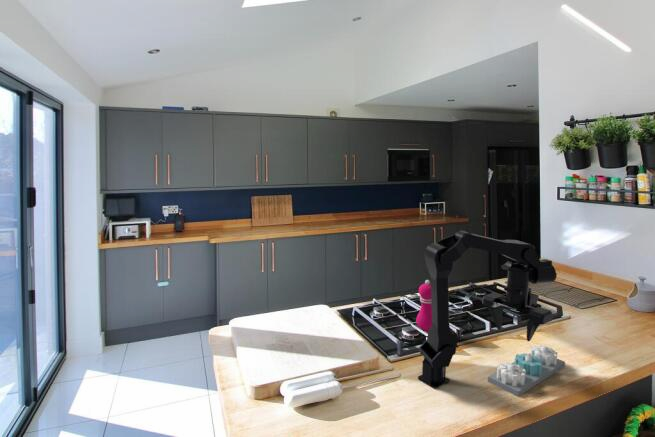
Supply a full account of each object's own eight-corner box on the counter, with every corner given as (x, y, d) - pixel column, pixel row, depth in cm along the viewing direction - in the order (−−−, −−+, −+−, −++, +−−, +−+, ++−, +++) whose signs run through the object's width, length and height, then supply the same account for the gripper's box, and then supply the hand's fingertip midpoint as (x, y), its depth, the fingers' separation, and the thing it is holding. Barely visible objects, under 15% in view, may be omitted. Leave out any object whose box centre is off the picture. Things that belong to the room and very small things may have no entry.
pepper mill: (436, 338, 141) (438, 283, 138) (416, 336, 143) (417, 282, 139) (435, 329, 148) (437, 277, 145) (415, 327, 150) (417, 276, 146)
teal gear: (533, 378, 113) (534, 368, 112) (509, 367, 119) (510, 357, 118) (546, 370, 117) (547, 360, 116) (522, 360, 123) (523, 351, 122)
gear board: (518, 396, 107) (519, 377, 106) (487, 381, 114) (488, 363, 113) (564, 366, 122) (566, 349, 121) (535, 354, 129) (536, 338, 128)
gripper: (565, 288, 113) (560, 340, 115) (504, 272, 128) (500, 318, 130) (544, 295, 107) (539, 350, 109) (482, 277, 122) (479, 326, 124)
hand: (513, 335), depth 118 cm, fingers open, 9 cm apart
